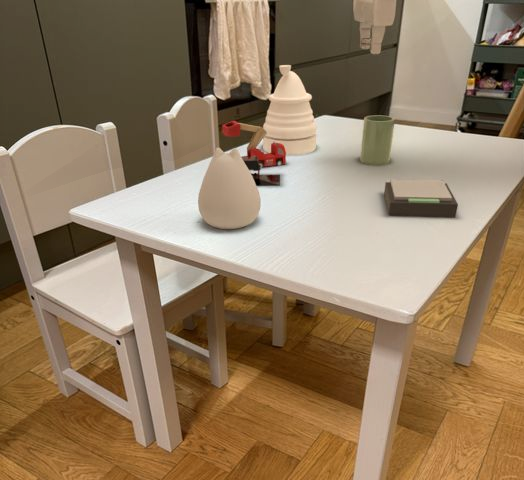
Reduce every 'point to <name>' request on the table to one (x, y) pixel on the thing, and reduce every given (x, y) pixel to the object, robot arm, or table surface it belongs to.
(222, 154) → the toy character
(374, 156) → the cup
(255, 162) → the build plate
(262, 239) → the table surface
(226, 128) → the toy fire truck
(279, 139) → the honey pot
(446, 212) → the scale
